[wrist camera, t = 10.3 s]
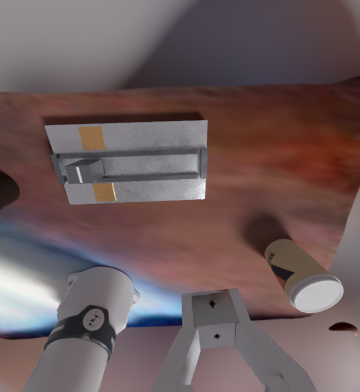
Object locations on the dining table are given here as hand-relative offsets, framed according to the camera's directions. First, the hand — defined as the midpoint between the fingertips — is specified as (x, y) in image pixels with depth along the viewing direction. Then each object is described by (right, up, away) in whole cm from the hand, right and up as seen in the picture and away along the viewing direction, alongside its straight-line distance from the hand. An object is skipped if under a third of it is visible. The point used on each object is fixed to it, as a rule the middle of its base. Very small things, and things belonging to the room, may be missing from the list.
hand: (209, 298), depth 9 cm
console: (-10, +12, +22) cm, 27 cm away
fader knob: (-17, +10, +20) cm, 28 cm away
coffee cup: (+23, -8, +32) cm, 40 cm away
